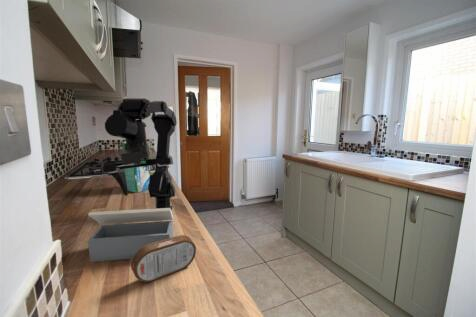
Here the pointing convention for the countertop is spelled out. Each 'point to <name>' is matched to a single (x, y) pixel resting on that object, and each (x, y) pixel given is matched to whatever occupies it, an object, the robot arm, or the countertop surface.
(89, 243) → the storage box
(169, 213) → the lid
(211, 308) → the countertop surface
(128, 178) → the milk carton
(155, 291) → the countertop surface
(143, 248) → the tin
